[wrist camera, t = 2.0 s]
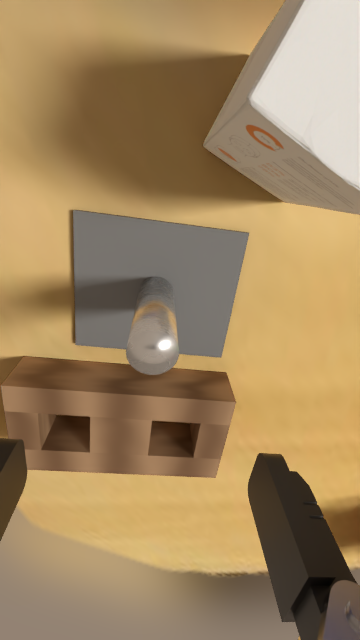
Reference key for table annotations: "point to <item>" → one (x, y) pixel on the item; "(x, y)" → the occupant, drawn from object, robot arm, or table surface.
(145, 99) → the table surface
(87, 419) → the socket block
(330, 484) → the table surface
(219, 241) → the mat
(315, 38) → the small box
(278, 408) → the table surface
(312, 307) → the table surface
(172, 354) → the peg
